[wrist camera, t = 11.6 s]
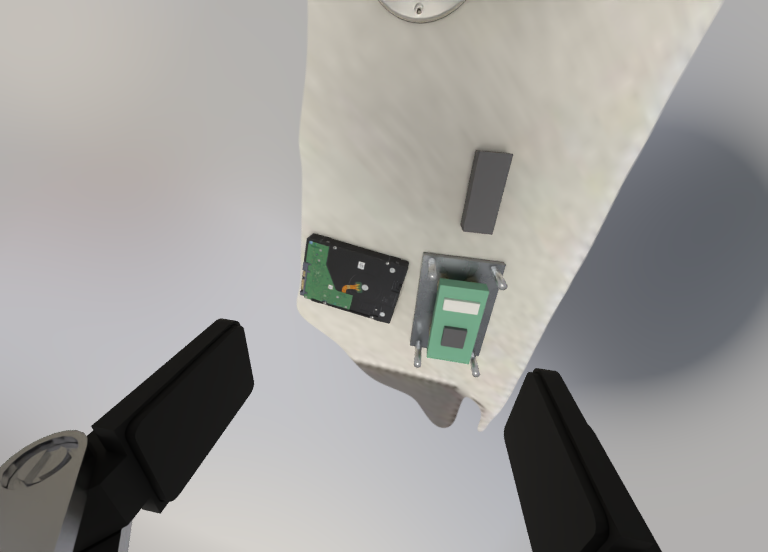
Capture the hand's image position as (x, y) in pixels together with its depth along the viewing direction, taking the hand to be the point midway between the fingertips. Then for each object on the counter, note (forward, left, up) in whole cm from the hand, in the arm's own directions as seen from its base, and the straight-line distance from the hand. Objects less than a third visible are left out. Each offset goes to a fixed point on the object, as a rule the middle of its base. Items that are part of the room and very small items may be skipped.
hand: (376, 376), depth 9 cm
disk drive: (+12, -8, -31) cm, 34 cm away
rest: (-2, +8, -30) cm, 31 cm away
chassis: (+15, +8, -30) cm, 35 cm away
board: (+15, +8, -27) cm, 32 cm away
